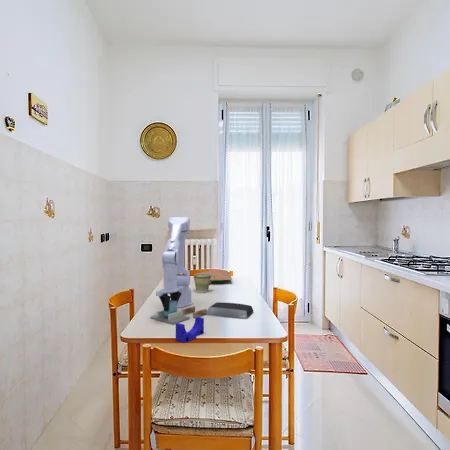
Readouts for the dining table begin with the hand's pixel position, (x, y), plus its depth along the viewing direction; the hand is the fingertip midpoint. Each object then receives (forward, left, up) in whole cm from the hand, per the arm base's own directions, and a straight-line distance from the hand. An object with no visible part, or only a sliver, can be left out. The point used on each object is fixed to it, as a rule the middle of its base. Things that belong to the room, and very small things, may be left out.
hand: (170, 310), depth 154 cm
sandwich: (-83, -42, -4) cm, 93 cm away
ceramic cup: (-51, -24, -4) cm, 57 cm away
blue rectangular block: (0, 0, -2) cm, 2 cm away
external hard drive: (-23, +15, -4) cm, 28 cm away
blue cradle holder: (+11, +23, -4) cm, 26 cm away
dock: (0, 0, -4) cm, 4 cm away
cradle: (-11, +4, -4) cm, 12 cm away
